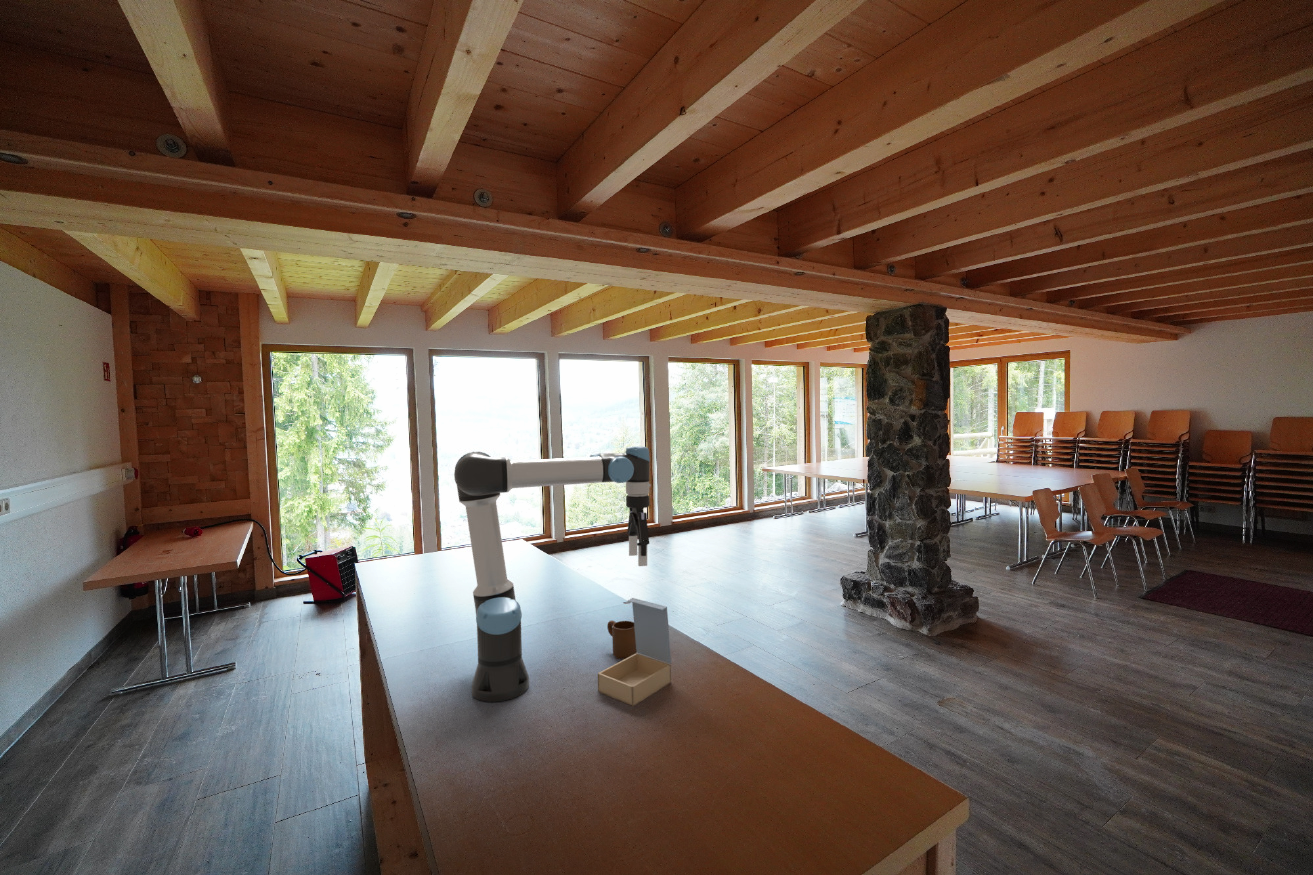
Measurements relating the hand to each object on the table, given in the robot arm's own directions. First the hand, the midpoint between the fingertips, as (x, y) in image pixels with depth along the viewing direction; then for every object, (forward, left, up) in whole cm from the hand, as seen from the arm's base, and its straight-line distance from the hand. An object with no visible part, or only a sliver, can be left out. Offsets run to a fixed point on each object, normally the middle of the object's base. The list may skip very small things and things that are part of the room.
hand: (637, 560), depth 177 cm
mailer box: (-12, -24, -28) cm, 39 cm away
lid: (-7, -22, -15) cm, 27 cm away
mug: (-7, -2, -28) cm, 29 cm away
